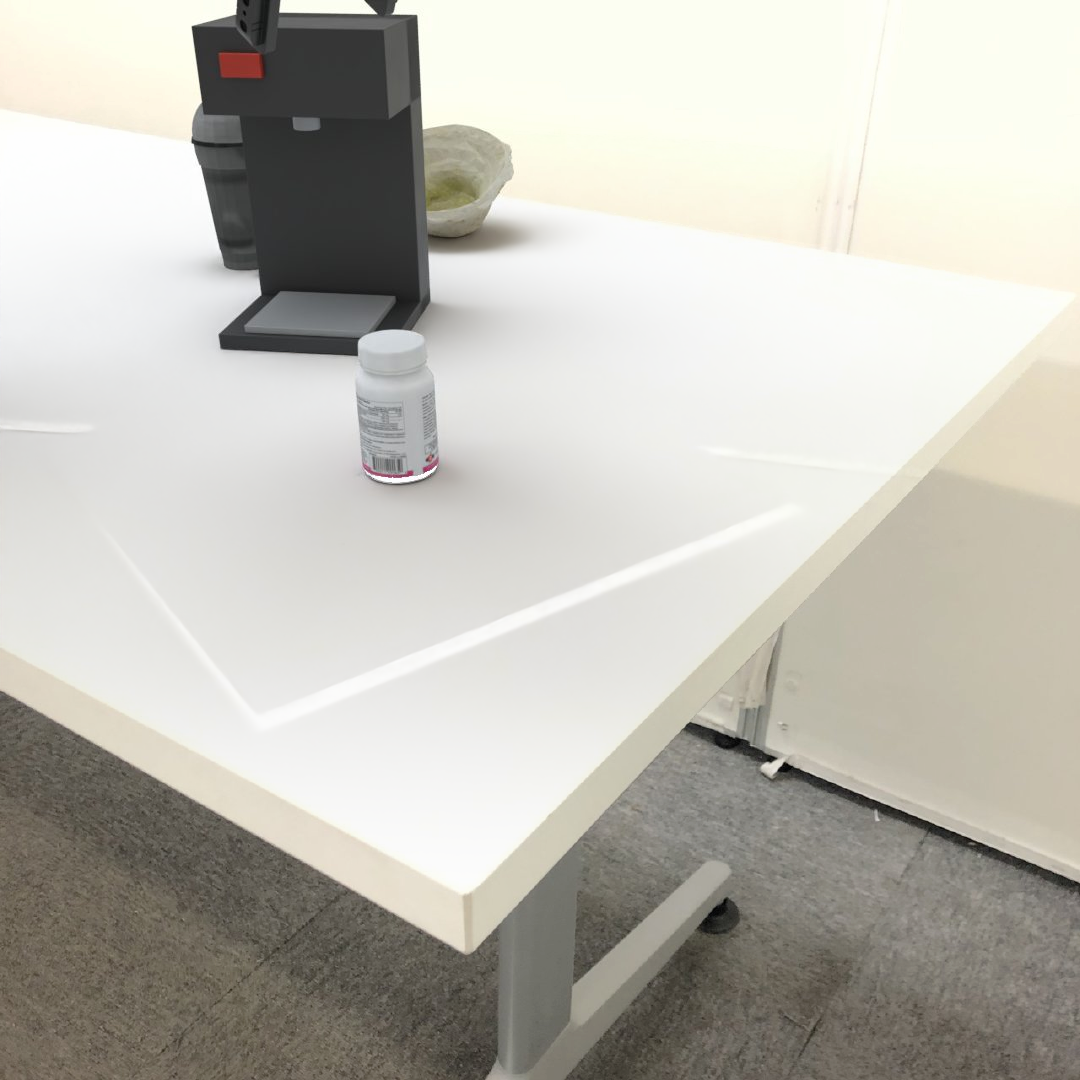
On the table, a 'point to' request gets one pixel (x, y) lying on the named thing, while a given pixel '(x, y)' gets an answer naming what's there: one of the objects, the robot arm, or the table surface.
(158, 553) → the table surface
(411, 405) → the pill bottle
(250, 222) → the beverage cup
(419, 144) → the coffee maker
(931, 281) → the table surface
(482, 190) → the bowl
